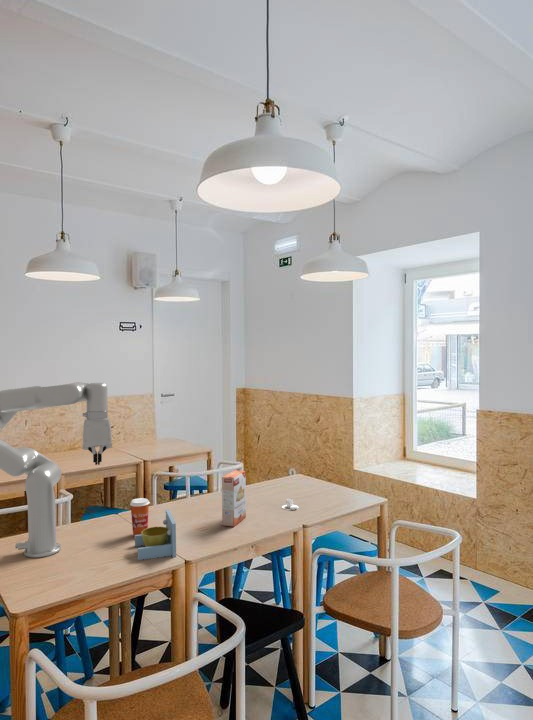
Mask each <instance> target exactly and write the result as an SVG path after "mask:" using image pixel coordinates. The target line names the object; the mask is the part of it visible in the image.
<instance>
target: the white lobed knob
mask: <svg viewBox="0 0 533 720" xmlns="http://www.w3.org/2000/svg"><path fill="white" fill-rule="evenodd" d="M286 507H287V508H286ZM281 509H284V510H287V511H290V510H293V511H294V510H298V509H299V506H298V505H296V504H294V499H293V498H286V504H284V505H282V506H281Z"/></svg>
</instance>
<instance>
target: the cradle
mask: <svg viewBox="0 0 533 720" xmlns="http://www.w3.org/2000/svg"><path fill="white" fill-rule="evenodd" d="M162 523H163V525H164V526H165V527H166V528H168V529H169V530H168V531H167V533H168V539H167V542H166V544H165V545H157V546H150V547H146V546H145V544H144V541H143V538H142V534H141V535H135V537H134V547H135V546H136V547H138V548H137V560H138V561H144V560H150V558H151V559H158V558H157V557H159V558H164V556H166V557H171V555H172V558H176V557H177V536H176V535H177V533H176V532H177V529H176V527H177V526H176V525H177V523H176V521H175V520H174V518H173V515H172V513H171V511H170V509H169V508H168V509H165V519H163V520H162ZM141 545H143V546H145V547H141ZM143 559H144V560H143Z"/></svg>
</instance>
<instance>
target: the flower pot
mask: <svg viewBox="0 0 533 720" xmlns="http://www.w3.org/2000/svg"><path fill="white" fill-rule="evenodd" d="M168 530H169V529H168V528H166V526H151V527H148V528H147V529H145V530H143V531H142V538H143V541H144V544H145V545H144V546H145V547H150V546H157V545H165V544H167V539H168V533H167V531H168Z"/></svg>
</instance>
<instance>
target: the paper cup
mask: <svg viewBox="0 0 533 720" xmlns="http://www.w3.org/2000/svg"><path fill="white" fill-rule="evenodd" d="M149 504H151V502H150V500H149V499H148V498H144V497H140V498H134V499H131V502H130V503H129V505H130V511H131V512H130V514H131V525H132V526H131V527H132V535H133V537H134V538H135V535H141V534H142V531H143V530H145V529H147V528H149Z"/></svg>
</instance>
